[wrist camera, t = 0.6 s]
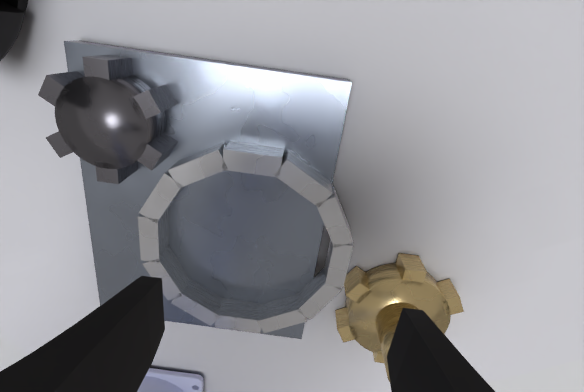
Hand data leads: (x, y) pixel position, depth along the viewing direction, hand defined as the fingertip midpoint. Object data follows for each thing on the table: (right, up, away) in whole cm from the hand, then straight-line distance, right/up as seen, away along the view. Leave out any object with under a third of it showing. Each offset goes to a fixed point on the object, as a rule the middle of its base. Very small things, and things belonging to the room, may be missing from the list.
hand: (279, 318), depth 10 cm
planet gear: (+7, -3, +12) cm, 14 cm away
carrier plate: (-4, +3, +9) cm, 11 cm away
